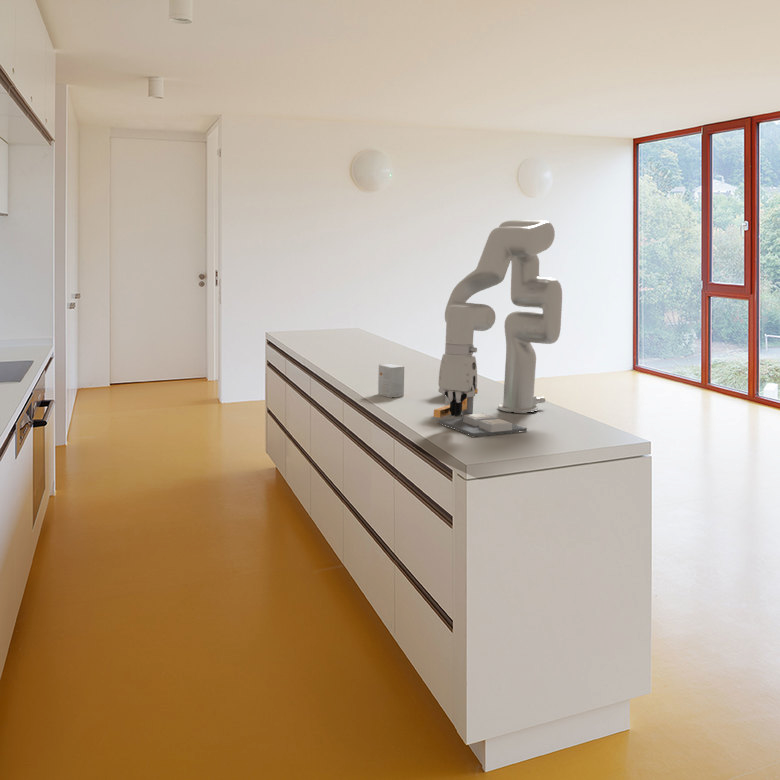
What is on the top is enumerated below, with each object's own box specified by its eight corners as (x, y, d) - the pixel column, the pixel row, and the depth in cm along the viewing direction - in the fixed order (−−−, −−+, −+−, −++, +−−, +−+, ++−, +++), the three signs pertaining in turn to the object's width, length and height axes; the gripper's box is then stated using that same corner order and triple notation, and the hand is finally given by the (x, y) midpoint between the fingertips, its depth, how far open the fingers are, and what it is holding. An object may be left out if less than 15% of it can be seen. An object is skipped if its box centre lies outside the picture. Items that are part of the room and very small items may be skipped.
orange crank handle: (464, 404, 232) (465, 386, 231) (479, 407, 229) (480, 388, 228) (428, 415, 214) (429, 396, 213) (445, 418, 212) (445, 398, 211)
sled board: (489, 418, 235) (490, 391, 233) (527, 432, 219) (529, 402, 217) (438, 423, 226) (439, 394, 225) (474, 437, 210) (476, 406, 209)
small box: (404, 396, 266) (405, 366, 264) (390, 398, 263) (391, 367, 261) (390, 393, 273) (391, 363, 271) (377, 394, 270) (378, 364, 268)
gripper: (489, 351, 212) (485, 417, 215) (440, 346, 220) (437, 410, 223) (478, 354, 206) (474, 421, 209) (428, 348, 213) (425, 414, 217)
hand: (455, 415), depth 216 cm, fingers closed
